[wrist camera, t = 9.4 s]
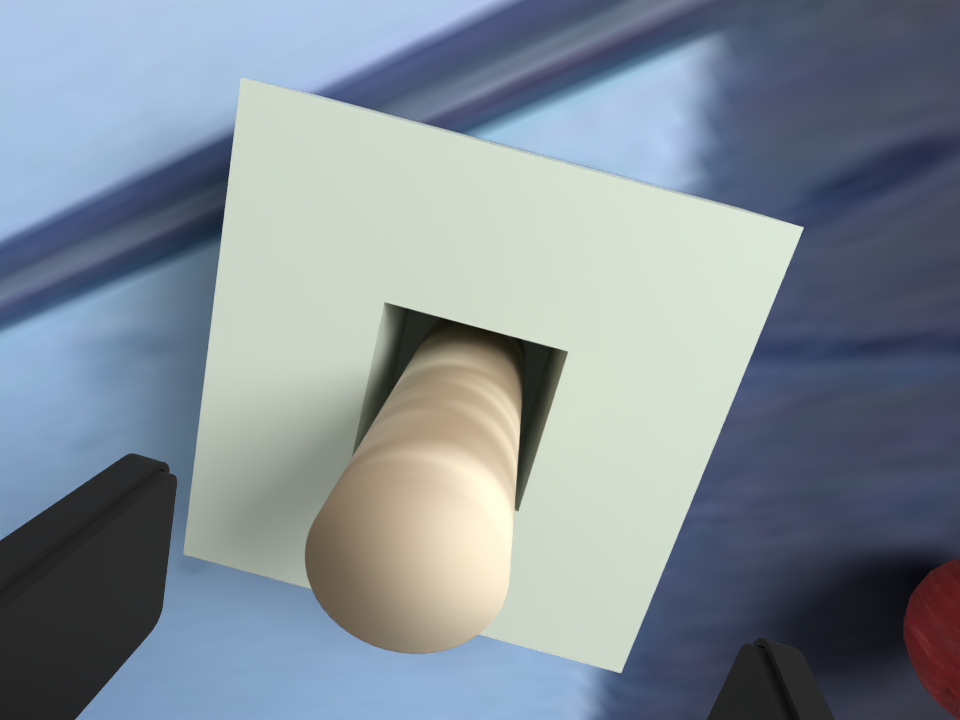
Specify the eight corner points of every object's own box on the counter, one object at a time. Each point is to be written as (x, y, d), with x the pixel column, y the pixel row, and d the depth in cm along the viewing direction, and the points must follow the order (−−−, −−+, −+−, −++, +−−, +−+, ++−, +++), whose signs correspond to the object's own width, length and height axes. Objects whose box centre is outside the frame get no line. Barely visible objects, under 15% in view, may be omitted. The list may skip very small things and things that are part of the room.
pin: (537, 322, 22) (534, 508, 11) (509, 417, 23) (481, 675, 12) (434, 295, 22) (323, 452, 11) (411, 391, 23) (289, 623, 12)
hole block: (733, 206, 21) (803, 227, 16) (603, 557, 26) (620, 673, 20) (320, 95, 21) (240, 77, 16) (261, 465, 26) (183, 554, 20)
